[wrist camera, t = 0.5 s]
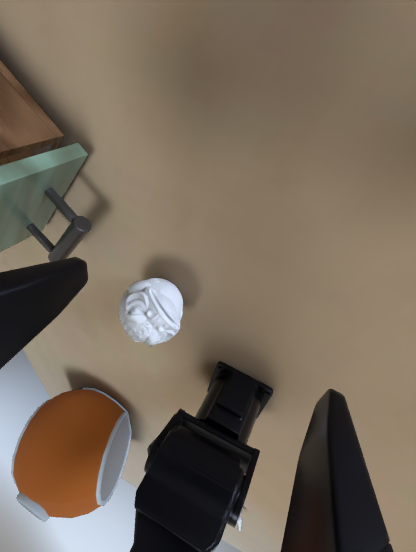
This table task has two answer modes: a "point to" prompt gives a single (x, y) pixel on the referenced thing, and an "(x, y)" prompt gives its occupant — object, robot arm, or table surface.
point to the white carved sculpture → (151, 311)
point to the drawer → (34, 172)
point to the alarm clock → (71, 454)
